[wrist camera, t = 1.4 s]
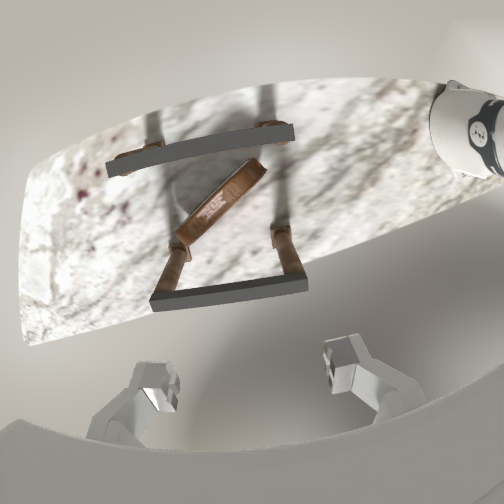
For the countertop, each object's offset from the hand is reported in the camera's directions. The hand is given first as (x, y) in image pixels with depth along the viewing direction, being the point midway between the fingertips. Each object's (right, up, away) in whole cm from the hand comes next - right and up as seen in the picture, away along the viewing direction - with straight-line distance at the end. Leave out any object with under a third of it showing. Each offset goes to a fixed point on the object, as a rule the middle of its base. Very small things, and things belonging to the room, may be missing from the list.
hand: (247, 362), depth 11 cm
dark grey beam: (-3, 0, +20) cm, 21 cm away
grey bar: (-5, +15, +13) cm, 20 cm away
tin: (-4, +13, +29) cm, 32 cm away
